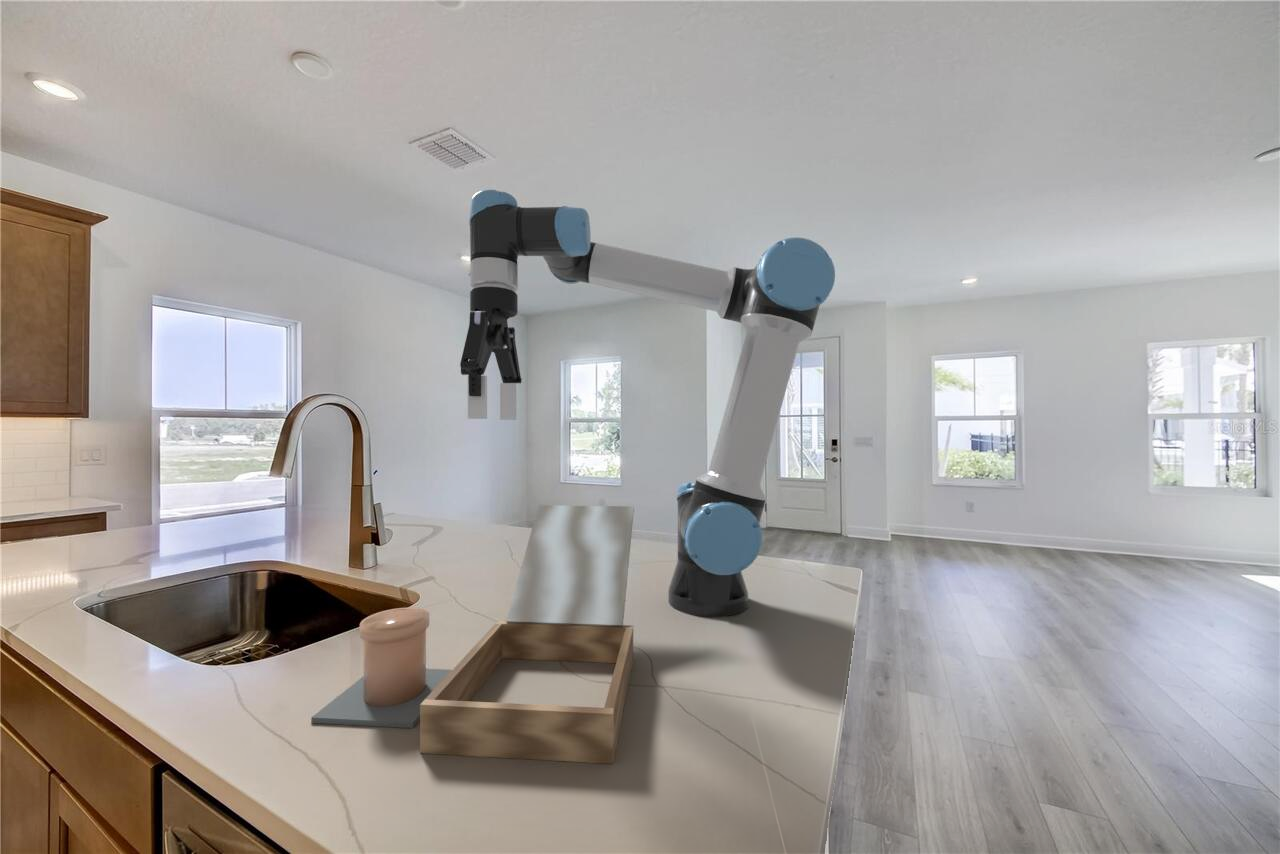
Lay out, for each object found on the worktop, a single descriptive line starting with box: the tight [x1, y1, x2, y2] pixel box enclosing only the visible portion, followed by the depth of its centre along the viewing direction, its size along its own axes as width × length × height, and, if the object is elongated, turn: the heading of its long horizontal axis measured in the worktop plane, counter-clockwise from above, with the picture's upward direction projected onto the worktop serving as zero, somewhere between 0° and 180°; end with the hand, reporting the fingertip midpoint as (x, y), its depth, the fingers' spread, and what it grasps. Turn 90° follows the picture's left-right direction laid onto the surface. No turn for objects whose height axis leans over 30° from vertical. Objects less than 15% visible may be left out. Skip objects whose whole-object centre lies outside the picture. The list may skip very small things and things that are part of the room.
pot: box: [359, 607, 430, 707], centre depth 62 cm, size 8×8×9 cm
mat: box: [310, 668, 453, 729], centre depth 62 cm, size 12×12×1 cm
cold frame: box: [419, 504, 635, 765], centre depth 70 cm, size 20×39×20 cm, turn 175°
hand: (494, 419), depth 83 cm, fingers open, 13 cm apart
